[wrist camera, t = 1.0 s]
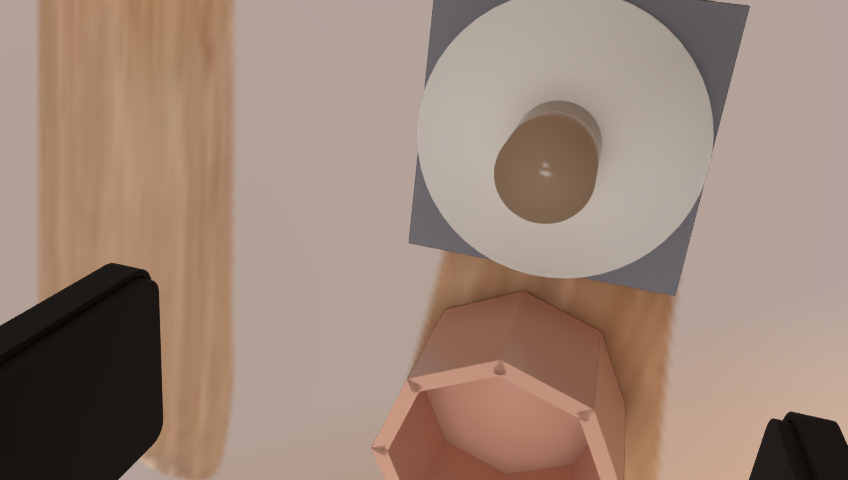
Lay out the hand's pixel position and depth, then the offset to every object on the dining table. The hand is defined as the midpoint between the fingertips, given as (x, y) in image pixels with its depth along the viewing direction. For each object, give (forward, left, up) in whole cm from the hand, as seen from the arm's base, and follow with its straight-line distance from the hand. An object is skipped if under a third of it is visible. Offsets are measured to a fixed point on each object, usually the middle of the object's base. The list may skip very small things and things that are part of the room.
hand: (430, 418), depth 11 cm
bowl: (+5, +10, -20) cm, 23 cm away
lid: (0, 0, -19) cm, 19 cm away
